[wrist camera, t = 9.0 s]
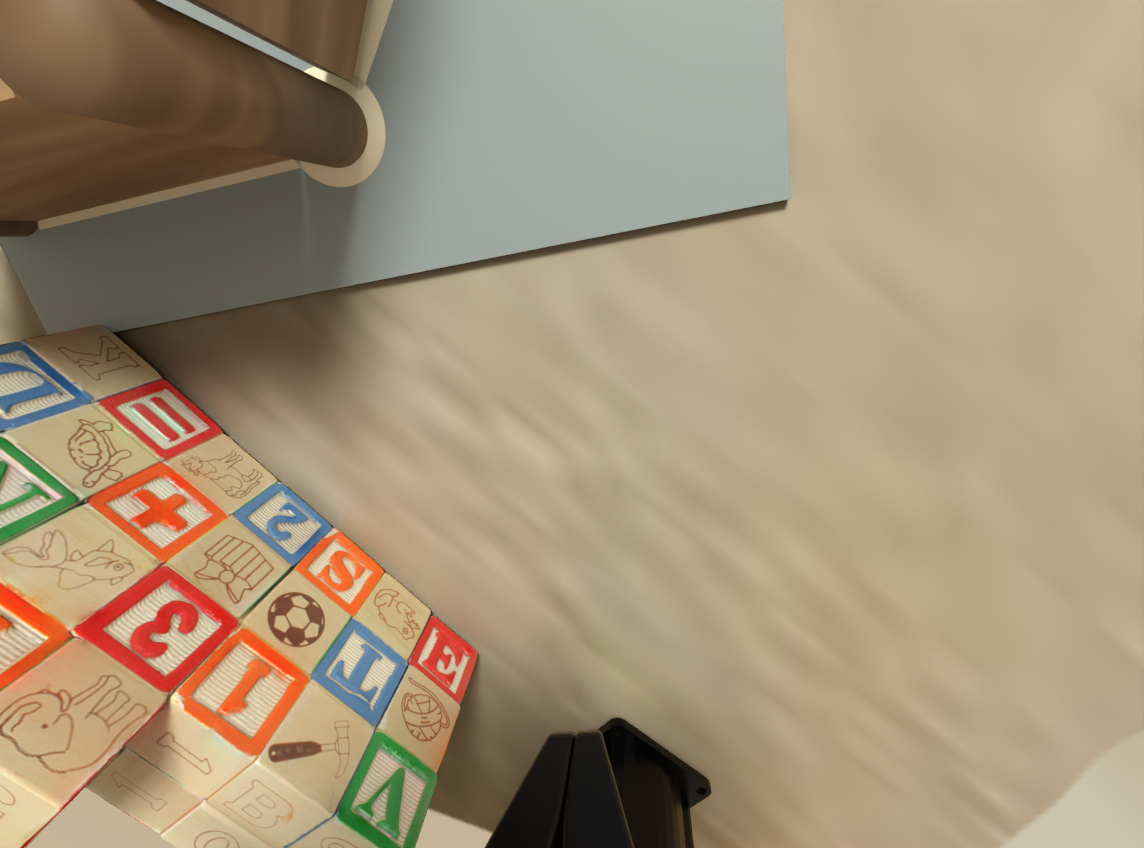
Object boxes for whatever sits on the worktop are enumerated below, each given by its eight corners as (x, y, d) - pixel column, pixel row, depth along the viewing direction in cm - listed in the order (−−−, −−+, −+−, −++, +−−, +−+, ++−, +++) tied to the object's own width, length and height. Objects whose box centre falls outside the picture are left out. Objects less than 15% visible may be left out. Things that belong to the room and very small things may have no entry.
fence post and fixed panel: (377, 159, 18) (131, 93, 9) (8, 246, 20) (-475, 261, 11) (354, 79, 17) (60, -83, 8) (-27, 179, 19) (-575, 138, 11)
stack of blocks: (484, 649, 25) (368, 1005, 14) (403, 707, 27) (243, 1060, 16) (99, 319, 21) (-538, 441, 9) (35, 417, 23) (-555, 615, 11)
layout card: (788, 199, 17) (791, 198, 17) (59, 342, 22) (51, 344, 21) (755, -545, 12) (758, -565, 12) (-196, -154, 17) (-213, -162, 16)
